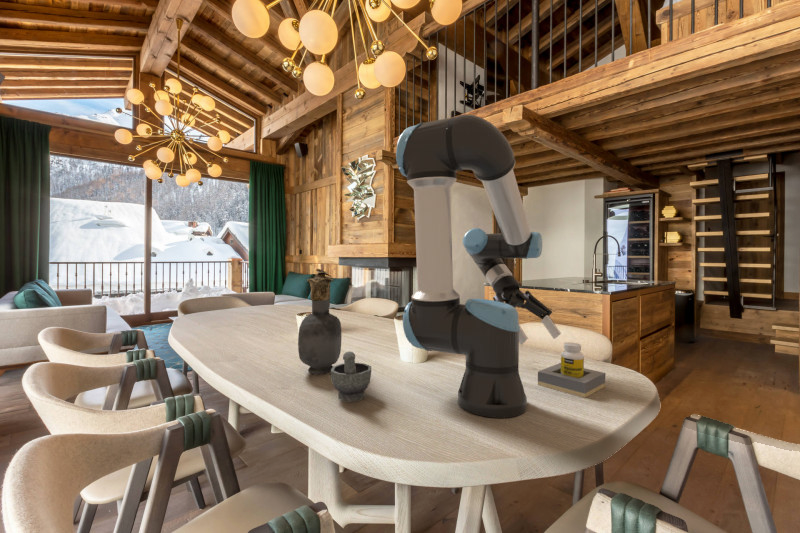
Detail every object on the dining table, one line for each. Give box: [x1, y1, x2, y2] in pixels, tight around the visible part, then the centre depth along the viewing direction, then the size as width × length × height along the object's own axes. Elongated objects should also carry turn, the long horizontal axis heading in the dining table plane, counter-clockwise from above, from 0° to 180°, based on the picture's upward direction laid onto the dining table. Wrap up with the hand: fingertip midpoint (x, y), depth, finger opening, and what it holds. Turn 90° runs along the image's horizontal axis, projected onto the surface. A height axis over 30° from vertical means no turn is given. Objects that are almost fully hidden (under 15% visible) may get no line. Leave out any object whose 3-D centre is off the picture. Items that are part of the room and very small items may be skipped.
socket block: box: [537, 362, 607, 399], centre depth 97 cm, size 12×12×4 cm
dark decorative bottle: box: [297, 268, 342, 376], centre depth 112 cm, size 11×19×30 cm, turn 0°
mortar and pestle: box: [330, 351, 372, 403], centre depth 89 cm, size 11×9×12 cm
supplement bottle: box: [560, 342, 585, 378], centre depth 97 cm, size 5×5×10 cm
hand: (541, 338), depth 105 cm, fingers open, 13 cm apart
